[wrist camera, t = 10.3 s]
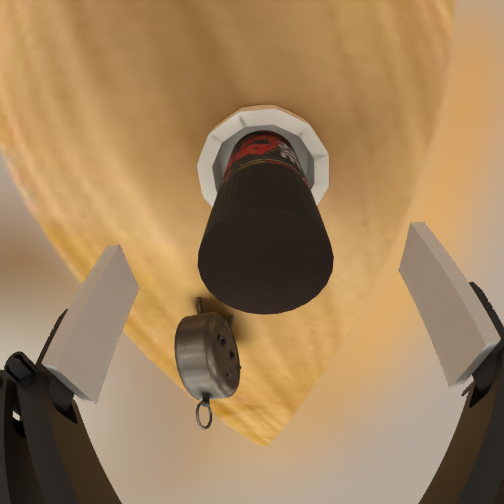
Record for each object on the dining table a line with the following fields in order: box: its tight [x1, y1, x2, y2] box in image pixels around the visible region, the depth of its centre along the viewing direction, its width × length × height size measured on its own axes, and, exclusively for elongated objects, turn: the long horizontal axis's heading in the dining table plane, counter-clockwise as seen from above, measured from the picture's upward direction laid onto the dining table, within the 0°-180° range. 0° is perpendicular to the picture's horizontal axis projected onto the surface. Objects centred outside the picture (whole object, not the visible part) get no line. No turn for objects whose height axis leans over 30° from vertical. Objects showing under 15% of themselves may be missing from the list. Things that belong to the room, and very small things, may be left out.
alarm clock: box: [175, 298, 241, 429], centre depth 31 cm, size 11×5×16 cm, turn 16°
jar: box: [197, 105, 329, 208], centre depth 23 cm, size 10×10×4 cm
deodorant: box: [198, 130, 334, 314], centre depth 18 cm, size 6×6×15 cm
